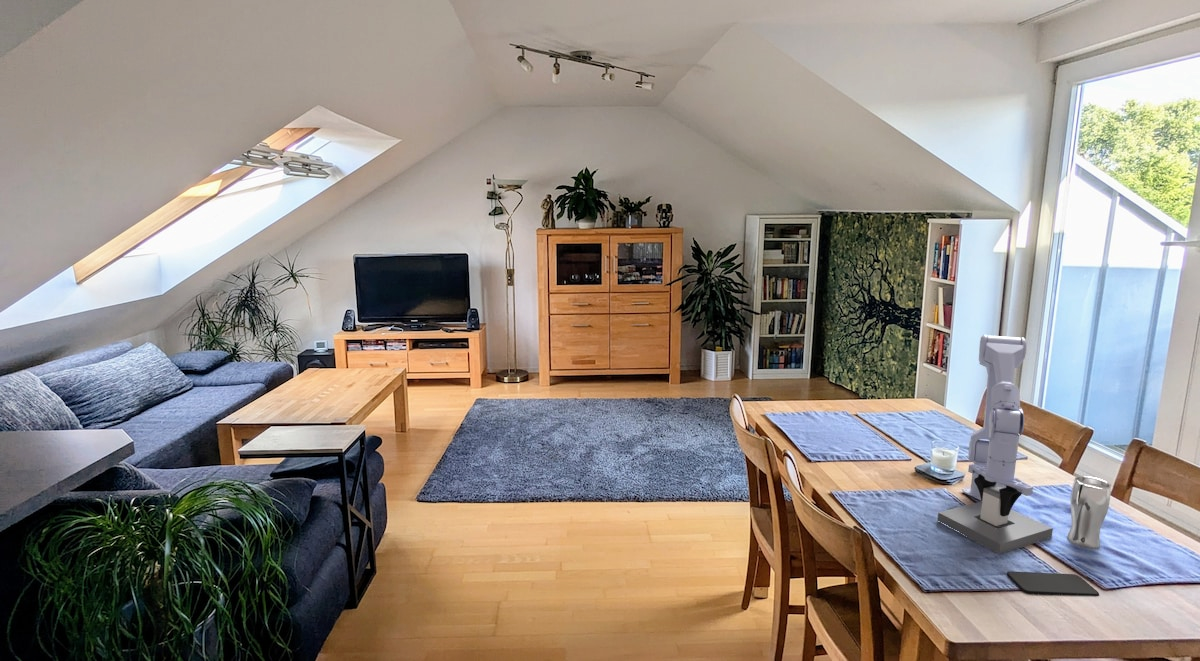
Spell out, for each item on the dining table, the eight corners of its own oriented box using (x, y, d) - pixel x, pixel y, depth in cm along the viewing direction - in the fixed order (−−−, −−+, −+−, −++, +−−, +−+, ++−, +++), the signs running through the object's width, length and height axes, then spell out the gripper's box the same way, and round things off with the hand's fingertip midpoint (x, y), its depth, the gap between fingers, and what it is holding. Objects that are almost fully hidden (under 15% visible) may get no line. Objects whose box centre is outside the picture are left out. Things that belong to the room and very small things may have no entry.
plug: (991, 515, 152) (995, 485, 150) (1007, 522, 148) (1011, 491, 147) (980, 518, 151) (983, 488, 149) (995, 526, 147) (999, 494, 145)
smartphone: (1102, 594, 124) (1025, 591, 125) (1101, 599, 124) (1024, 595, 125) (1077, 573, 131) (1004, 570, 132) (1076, 577, 131) (1003, 574, 132)
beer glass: (1095, 536, 146) (1104, 477, 143) (1107, 551, 140) (1117, 490, 137) (1060, 532, 149) (1068, 473, 146) (1071, 546, 142) (1080, 486, 139)
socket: (987, 508, 161) (988, 499, 160) (1051, 537, 146) (1052, 528, 146) (937, 521, 154) (938, 512, 154) (999, 554, 139) (1000, 544, 139)
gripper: (962, 449, 152) (956, 501, 154) (1020, 472, 138) (1013, 528, 141) (982, 445, 154) (976, 496, 157) (1041, 467, 141) (1034, 522, 144)
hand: (995, 510), depth 149 cm, fingers closed on plug, 4 cm apart
